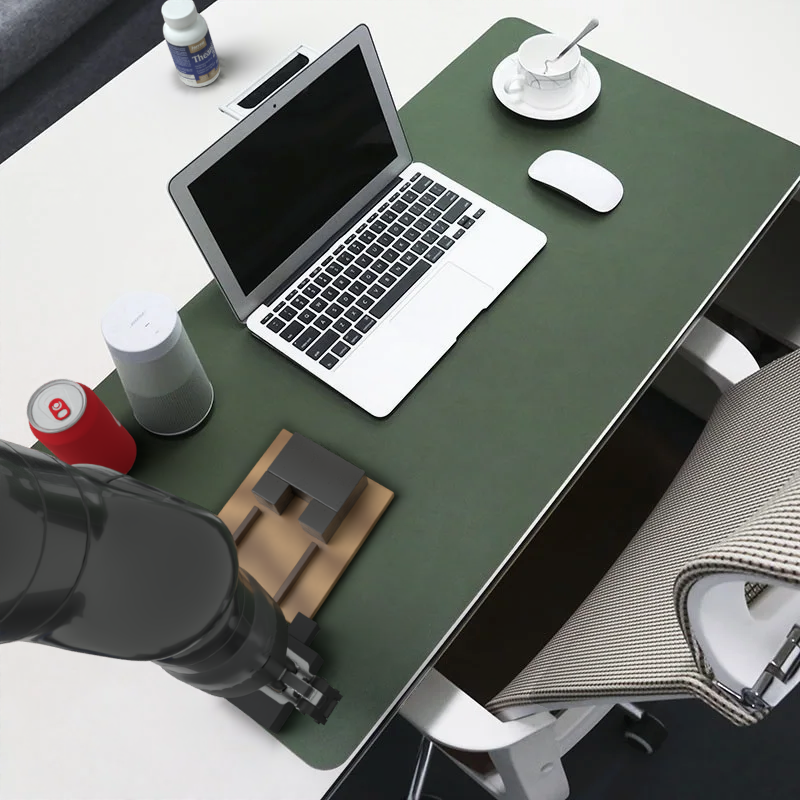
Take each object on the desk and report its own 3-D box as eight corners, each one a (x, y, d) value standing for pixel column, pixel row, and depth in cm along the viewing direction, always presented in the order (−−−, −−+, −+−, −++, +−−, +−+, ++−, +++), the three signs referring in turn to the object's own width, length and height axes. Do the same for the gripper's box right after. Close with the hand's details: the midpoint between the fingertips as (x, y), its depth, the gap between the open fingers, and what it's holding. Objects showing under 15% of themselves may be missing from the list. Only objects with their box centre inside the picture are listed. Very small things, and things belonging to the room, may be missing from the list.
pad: (276, 734, 70) (268, 729, 67) (230, 700, 72) (220, 695, 68) (337, 641, 73) (332, 633, 70) (291, 611, 75) (284, 601, 72)
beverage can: (118, 419, 85) (69, 360, 74) (151, 461, 82) (105, 406, 72) (65, 456, 83) (7, 402, 73) (96, 501, 81) (41, 451, 70)
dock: (303, 632, 74) (295, 622, 70) (190, 557, 78) (177, 544, 74) (394, 496, 79) (391, 480, 76) (284, 432, 83) (277, 414, 79)
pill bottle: (207, 93, 105) (184, 27, 97) (171, 82, 107) (146, 16, 98) (229, 65, 108) (209, -2, 99) (194, 54, 109) (171, -13, 100)
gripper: (96, 618, 54) (175, 659, 69) (271, 746, 50) (315, 761, 64) (170, 523, 57) (231, 582, 71) (342, 637, 52) (369, 675, 67)
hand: (271, 667), depth 68 cm, fingers open, 8 cm apart
